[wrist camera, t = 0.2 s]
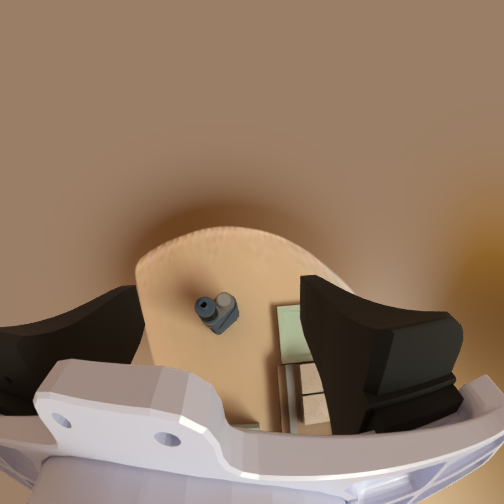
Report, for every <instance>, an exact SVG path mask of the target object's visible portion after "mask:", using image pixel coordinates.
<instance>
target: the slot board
mask: <svg viewBox="0 0 504 504" xmlns="http://www.w3.org/2000/svg"><path fill="white" fill-rule="evenodd" d="M311 363H314V362H311ZM311 363H303V364H311ZM303 364H294V365H293V364H289V365H284V366H277V379H278V392H279V405H280V419H281V432H282V433H293V434H311V435H332V429H331V424H330V421H328V422H322V423H316V424H309V425H304V424H303V423H302V414H301V402H300V396H303V395H310V394H318V393H324V391H322V392H316V393H308V394H300V390H299V378H298V367H297V366H299V365H303Z"/></svg>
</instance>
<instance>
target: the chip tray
mask: <svg viewBox="0 0 504 504" xmlns="http://www.w3.org/2000/svg"><path fill="white" fill-rule="evenodd" d="M277 319H278V330H279V341H280V352H281V364H282V365H283V364H293V363H302V362H310V361H314V360H313V358H312V355H311V353H310V350H309V348H308V345H307V342H306V340H305V337H304V334H303V330H302V326H301V321H300V305H291V306H278V307H277Z"/></svg>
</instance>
